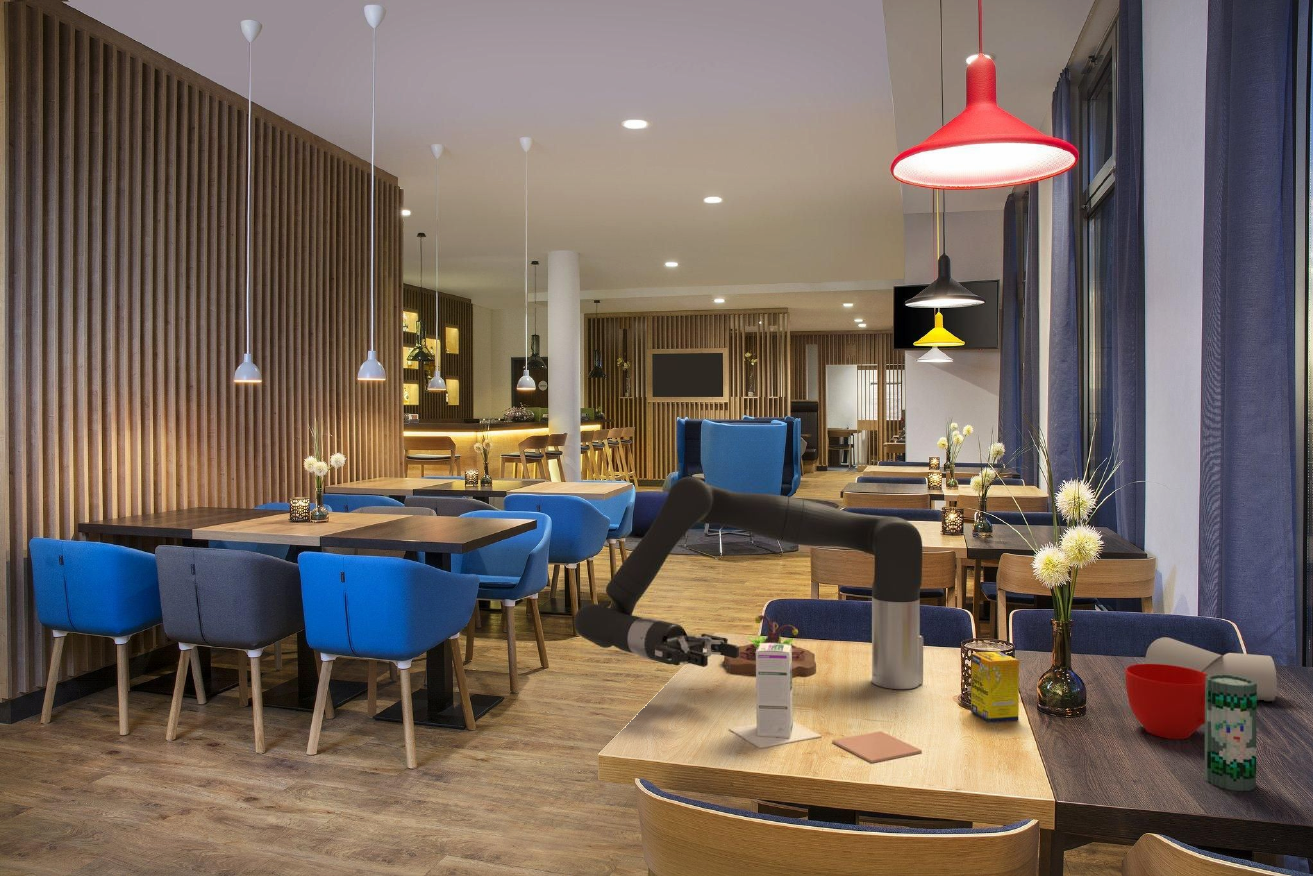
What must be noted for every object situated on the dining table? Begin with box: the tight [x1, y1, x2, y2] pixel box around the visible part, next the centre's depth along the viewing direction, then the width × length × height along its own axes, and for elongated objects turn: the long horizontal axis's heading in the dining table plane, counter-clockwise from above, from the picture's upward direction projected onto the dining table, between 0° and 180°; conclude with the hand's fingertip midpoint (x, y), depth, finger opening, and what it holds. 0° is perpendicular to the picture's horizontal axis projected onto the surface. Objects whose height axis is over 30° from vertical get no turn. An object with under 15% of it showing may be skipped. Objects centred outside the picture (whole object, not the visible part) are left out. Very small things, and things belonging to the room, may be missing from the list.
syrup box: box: [755, 642, 794, 738], centre depth 155 cm, size 6×6×14 cm
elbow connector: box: [1145, 636, 1278, 702], centre depth 179 cm, size 18×10×20 cm
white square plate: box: [728, 720, 822, 749], centre depth 155 cm, size 12×10×1 cm
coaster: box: [831, 730, 923, 764], centre depth 148 cm, size 10×10×1 cm
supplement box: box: [970, 650, 1020, 724], centre depth 163 cm, size 6×6×11 cm
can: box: [1204, 674, 1258, 792], centre depth 133 cm, size 6×6×15 cm
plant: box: [723, 614, 817, 679], centre depth 198 cm, size 20×20×11 cm
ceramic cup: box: [1124, 663, 1208, 740], centre depth 153 cm, size 13×17×10 cm
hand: (722, 656), depth 162 cm, fingers open, 8 cm apart
